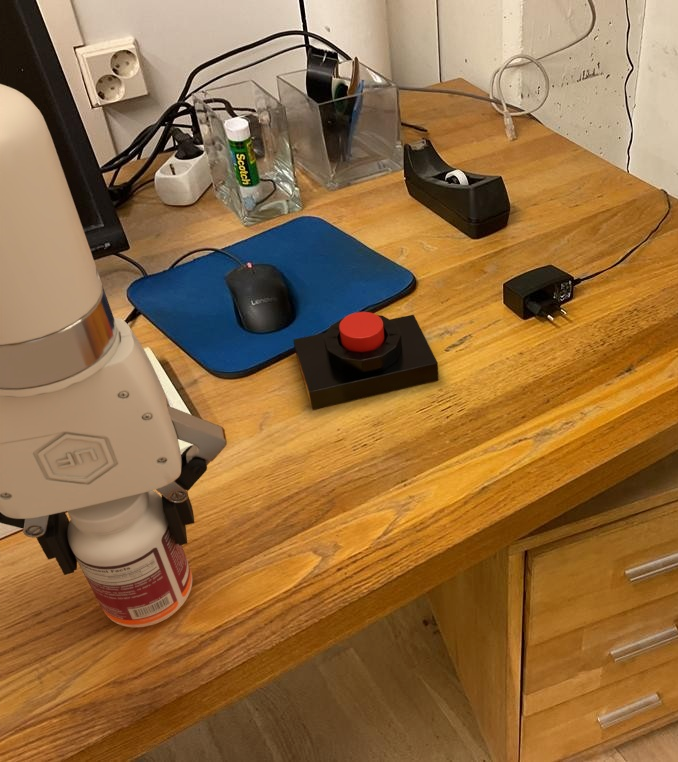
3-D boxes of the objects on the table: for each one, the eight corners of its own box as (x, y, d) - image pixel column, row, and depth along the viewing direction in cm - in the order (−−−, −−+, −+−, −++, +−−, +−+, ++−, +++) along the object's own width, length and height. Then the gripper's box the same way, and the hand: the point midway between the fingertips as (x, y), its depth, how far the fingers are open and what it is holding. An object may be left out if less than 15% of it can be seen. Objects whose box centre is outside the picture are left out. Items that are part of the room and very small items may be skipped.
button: (346, 356, 74) (344, 341, 72) (337, 331, 76) (334, 316, 75) (389, 347, 75) (387, 332, 74) (378, 322, 78) (376, 307, 76)
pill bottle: (141, 547, 61) (99, 445, 54) (211, 572, 60) (178, 471, 53) (82, 615, 57) (28, 513, 49) (157, 643, 55) (112, 542, 48)
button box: (312, 410, 74) (306, 377, 71) (296, 356, 79) (290, 324, 76) (438, 380, 77) (437, 347, 74) (414, 331, 82) (412, 299, 80)
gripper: (-175, 412, 37) (-24, 628, 49) (214, 339, 43) (267, 550, 54) (-143, 319, 43) (-13, 534, 54) (200, 265, 48) (251, 472, 60)
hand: (126, 541), depth 54 cm, fingers closed on pill bottle, 6 cm apart
